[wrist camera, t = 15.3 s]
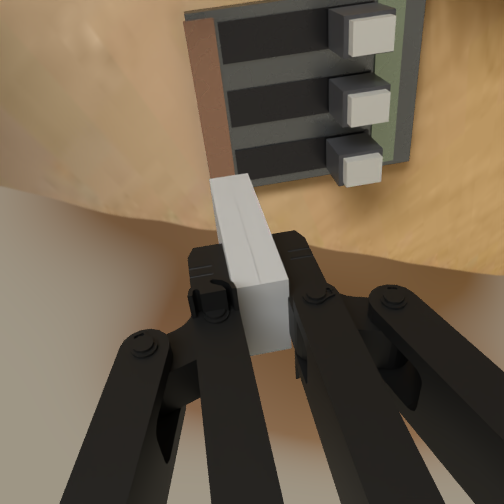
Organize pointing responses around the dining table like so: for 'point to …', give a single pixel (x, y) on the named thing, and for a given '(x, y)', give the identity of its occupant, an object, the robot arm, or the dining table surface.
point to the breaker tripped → (354, 160)
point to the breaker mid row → (359, 100)
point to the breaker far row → (361, 30)
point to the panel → (291, 85)
